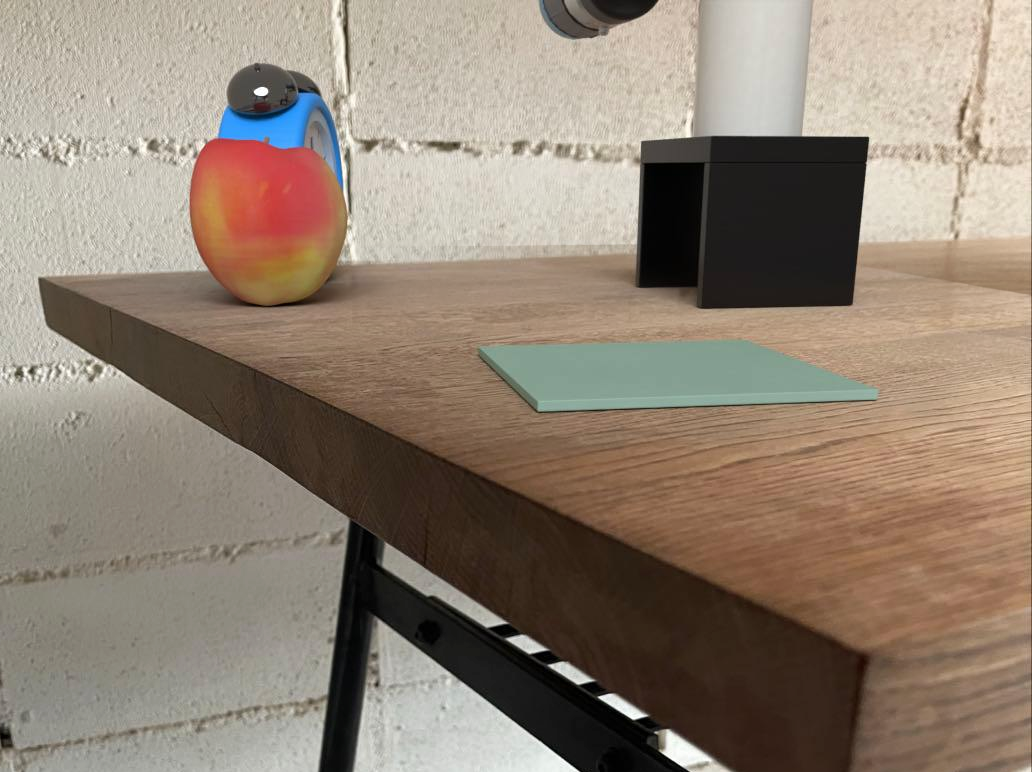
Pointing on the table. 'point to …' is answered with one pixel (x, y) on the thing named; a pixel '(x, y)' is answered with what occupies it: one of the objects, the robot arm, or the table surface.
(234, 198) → the apple
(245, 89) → the alarm clock
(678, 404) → the mat
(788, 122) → the cup
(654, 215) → the shelf
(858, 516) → the table surface
